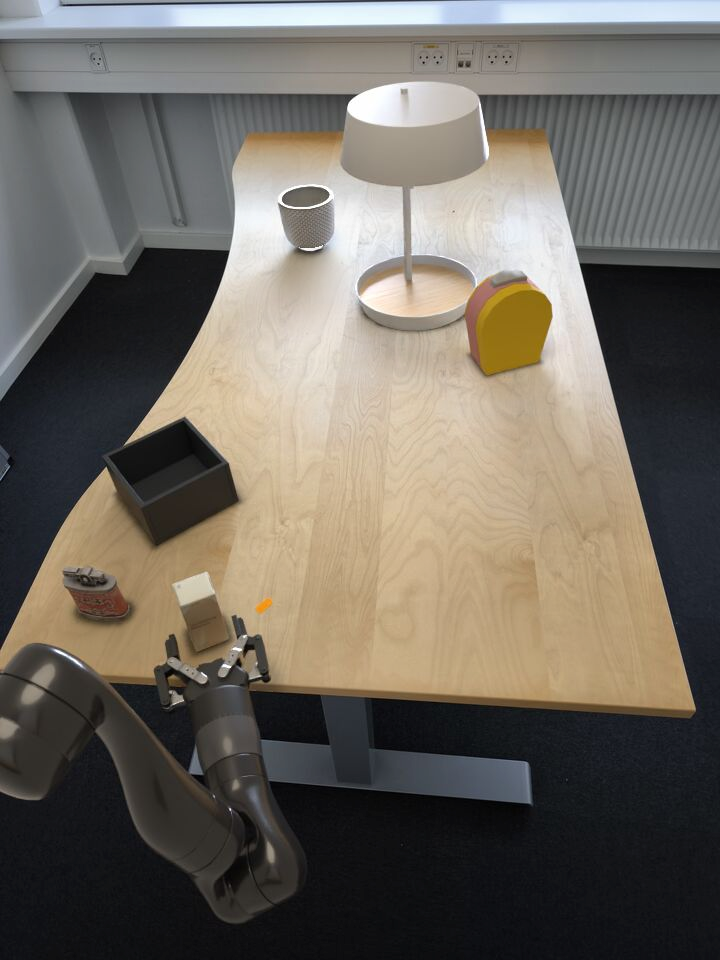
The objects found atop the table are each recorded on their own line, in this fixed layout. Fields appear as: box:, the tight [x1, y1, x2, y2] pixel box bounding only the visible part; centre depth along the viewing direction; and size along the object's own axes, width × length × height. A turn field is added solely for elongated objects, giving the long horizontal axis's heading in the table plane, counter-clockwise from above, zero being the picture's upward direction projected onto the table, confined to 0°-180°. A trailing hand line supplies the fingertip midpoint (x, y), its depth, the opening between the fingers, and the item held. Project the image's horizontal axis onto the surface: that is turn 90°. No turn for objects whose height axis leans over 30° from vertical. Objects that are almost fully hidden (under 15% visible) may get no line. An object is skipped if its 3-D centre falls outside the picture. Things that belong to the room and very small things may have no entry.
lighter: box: [61, 564, 132, 622], centre depth 107 cm, size 8×3×10 cm, turn 80°
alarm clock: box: [464, 268, 553, 376], centre depth 142 cm, size 15×8×18 cm, turn 108°
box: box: [172, 571, 230, 653], centre depth 102 cm, size 5×4×11 cm
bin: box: [101, 416, 239, 546], centre depth 123 cm, size 16×16×9 cm
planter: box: [277, 184, 336, 248], centre depth 184 cm, size 14×14×13 cm
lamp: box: [339, 81, 490, 332], centre depth 151 cm, size 29×29×43 cm
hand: (203, 627), depth 99 cm, fingers open, 8 cm apart
